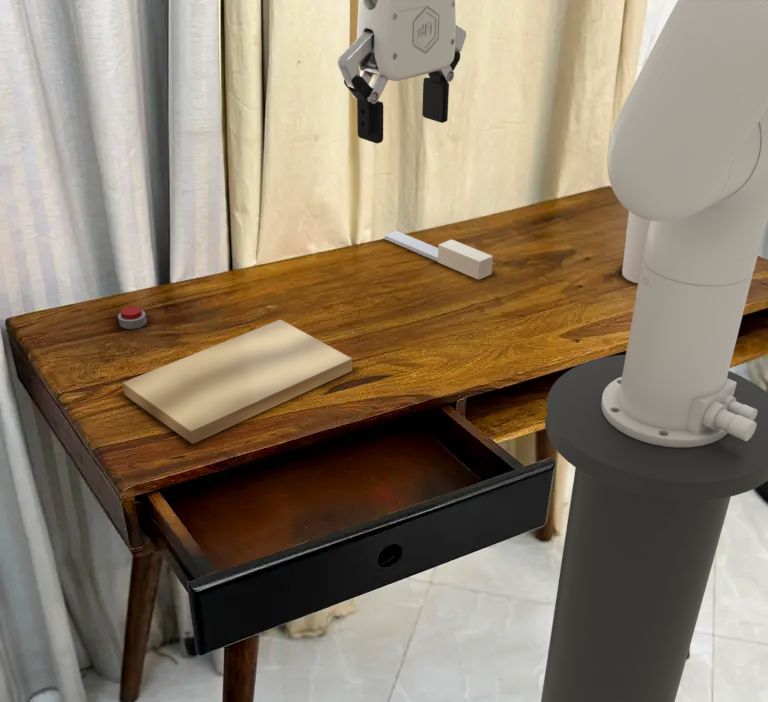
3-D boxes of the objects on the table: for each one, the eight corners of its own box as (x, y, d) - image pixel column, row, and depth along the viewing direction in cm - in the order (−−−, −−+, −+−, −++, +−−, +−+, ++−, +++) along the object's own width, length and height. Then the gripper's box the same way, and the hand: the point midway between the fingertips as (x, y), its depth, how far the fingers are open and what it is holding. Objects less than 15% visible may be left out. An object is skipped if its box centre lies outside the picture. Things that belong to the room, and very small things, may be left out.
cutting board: (352, 371, 103) (352, 358, 102) (192, 444, 92) (190, 431, 91) (281, 331, 110) (280, 319, 109) (124, 395, 99) (122, 382, 98)
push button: (141, 329, 110) (139, 317, 109) (115, 327, 110) (113, 315, 109) (150, 317, 112) (148, 305, 111) (125, 315, 112) (123, 303, 112)
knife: (491, 274, 121) (493, 255, 120) (478, 280, 120) (479, 261, 118) (396, 234, 131) (396, 216, 130) (383, 239, 130) (383, 221, 128)
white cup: (669, 290, 118) (685, 208, 112) (613, 281, 120) (626, 200, 113) (676, 267, 123) (692, 188, 116) (623, 260, 124) (635, 181, 118)
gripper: (368, -39, 86) (369, 157, 97) (496, -61, 96) (483, 120, 107) (311, -50, 90) (318, 139, 101) (439, -70, 100) (433, 105, 111)
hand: (403, 129), depth 104 cm, fingers open, 9 cm apart
